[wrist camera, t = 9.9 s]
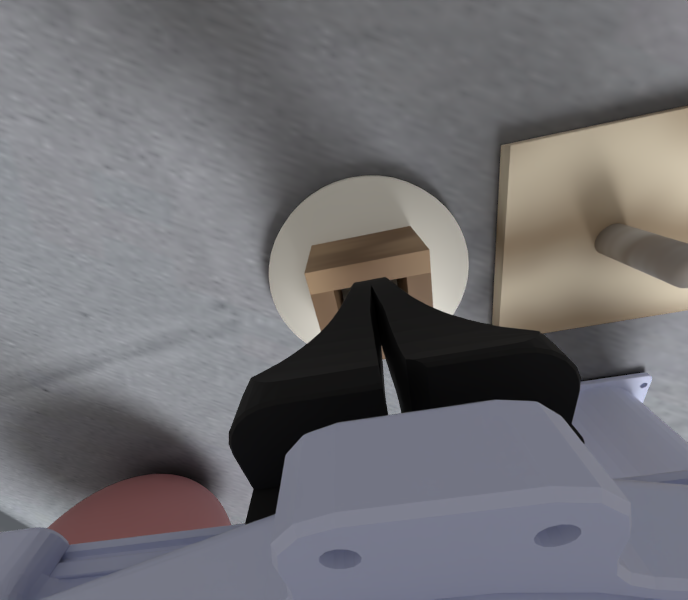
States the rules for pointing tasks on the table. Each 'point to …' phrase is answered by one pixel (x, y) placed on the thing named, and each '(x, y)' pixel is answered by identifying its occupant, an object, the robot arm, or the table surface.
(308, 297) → the cream plate
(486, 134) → the table surface
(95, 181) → the table surface
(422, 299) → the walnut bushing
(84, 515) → the balloon
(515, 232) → the birch stand
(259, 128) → the table surface
